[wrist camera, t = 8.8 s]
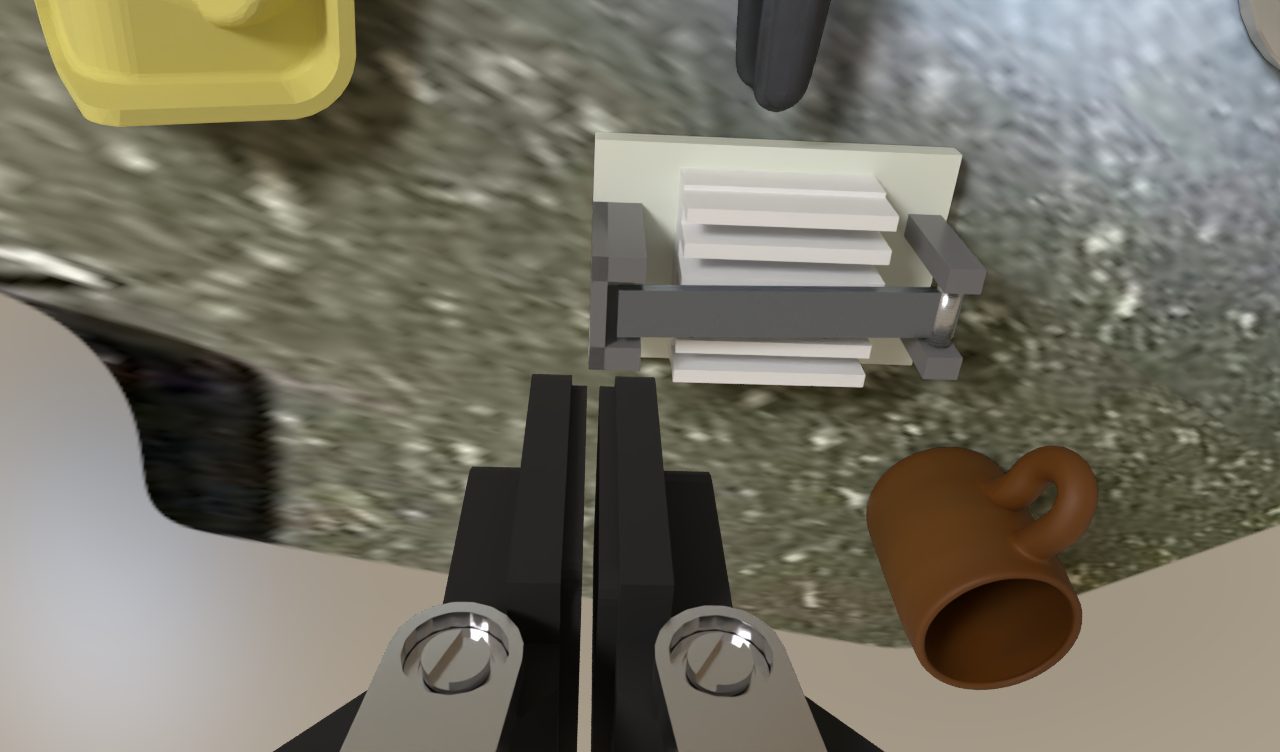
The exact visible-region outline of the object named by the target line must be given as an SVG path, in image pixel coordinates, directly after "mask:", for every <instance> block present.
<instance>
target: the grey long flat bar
mask: <svg viewBox="0 0 1280 752" xmlns="http://www.w3.org/2000/svg"><path fill="white" fill-rule="evenodd" d="M964 295H965V294H948V293H944V292H943V291H942V289H941V288H940V287H939V285H938V286H937V287H861V286H735V285H618V295H617V317H616V336H617V337H713V338H925V339H924V340H925V342H926V343H928V344H929V345H931V346H934V347H941V348H942V347H947V346H949V345H950V342H951V338H953V336H954V333H955V329H956V325H957V321H958V317H959V314H960V310H961V306H962V302H963V299H964Z"/></svg>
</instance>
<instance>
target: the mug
mask: <svg viewBox="0 0 1280 752" xmlns="http://www.w3.org/2000/svg"><path fill="white" fill-rule="evenodd" d="M1053 482H1054V483H1055V484H1056V486H1057V497H1056V500H1055V503H1054V505H1053V507H1052V509H1051V510H1050V511H1049V512H1048V513H1047V514H1045V515H1044V516H1042V517H1041V518H1039V519H1038V520H1036V521H1035V520H1034V518H1033V517H1032V515H1031V514H1030V512H1029V511H1028V509H1027V508H1026V507H1028V506H1029V505H1031V504H1032V503H1033V502H1034V501H1035V500H1036V499H1038V497H1039V496H1040V495H1041V494H1042V493H1043V491H1044V490H1045V489H1046V488H1047V487H1048V486H1049V485H1050V484H1051V483H1053ZM1097 503H1098V486H1097V482H1096V477H1095V475H1094V473H1093V471H1092V470H1091V468H1090V466H1089V465H1088V463H1087V461H1085V460H1084V459H1083V458H1082V457H1081V456H1080V455H1079V454H1077V453H1076V452H1074V451H1072V450H1070V449H1067V448H1065V447H1059V446H1044V447H1040V448H1037V449H1035V450H1033V451H1030V452H1028V453H1026V454H1025V455H1024V456H1023V457H1021V458H1020V459H1019V460H1018V461H1017V462H1016V463H1015V464H1014V465H1013V466H1012V468H1011V469H1010V470H1009V471H1008V472H1007V473H1006V474H1005V473H1004V472H1003V470H1002V469H1001V468H1000V467H999V466H998V465H997V464H996V463H994V462H993V461H992V460H991V459H989V458H988V457H986V456H984V455H982V454H980V453H978V452H975V451H972V450H968V449H964V448H957V447H940V448H933V449H928V450H924V451H921V452H918V453H915V454H913V455H911V456H908V457H906V458H905V459H903V460H901V461H899V462H898V463H896V464H895V465H894V466H892V467H891V468H890V469H889V470H888V471H886V472H885V474H884V475H883V476H882V477H881V478H880V479H879V481H878V482H877V483H876V485H875V487H874V489H873V490H872V492H871V495H870V497H869V500H868V504H867V514H866V517H867V525H868V530H869V533H870V536H871V539H872V542H873V545H874V548H875V551H876V553H877V556H878V559H879V562H880V565H881V568H882V571H883V574H884V577H885V579H886V582H887V585H888V588H889V590H890V593H891V596H892V598H893V601H894V604H895V607H896V609H897V612H898V615H899V618H900V620H901V623H902V626H903V628H904V630H905V633H906V635H907V637H908V639H909V641H910V643H911V645H912V647H913V649H914V651H915V653H916V655H917V657H918V659H919V661H920V663H921V665H922V666H923V667H924V668H925V669H926V670H927V671H928V672H929V673H930V674H931V675H933V676H934V677H935V678H937V679H939V680H940V681H942V682H944V683H946V684H949V685H952V686H955V687H959V688H964V689H973V690H988V689H997V688H1003V687H1008V686H1012V685H1015V684H1019V683H1021V682H1024V681H1027V680H1029V679H1031V678H1034V677H1036V676H1038V675H1039V674H1041V673H1043V672H1045V671H1046V670H1048V669H1049V668H1050V667H1052V666H1054V665H1055V664H1056V663H1057V662H1058V661H1060V660H1061V659H1062V658H1063V657H1064V656H1065V655H1066V653H1068V651H1069V650H1070V649H1071V648H1072V646H1073V645H1074V643H1075V641H1076V639H1077V638H1078V635H1079V633H1080V629H1081V625H1082V609H1081V604H1080V602H1079V599H1078V597H1077V595H1076V593H1075V591H1074V589H1073V587H1072V585H1071V583H1070V581H1069V578H1068V576H1067V574H1066V572H1065V570H1064V568H1063V566H1062V564H1061V563H1060V561H1059V559H1058V558H1057V556H1056V554H1058V553H1060V552H1061V551H1063V550H1065V549H1066V548H1068V547H1070V546H1071V545H1073V544H1075V543H1076V542H1077V541H1078V540H1079V539H1080V538H1081V537H1082V536H1083V534H1084V533H1085V531H1086V530H1087V528H1088V527H1089V525H1090V523H1091V521H1092V519H1093V516H1094V514H1095V511H1096V509H1097Z"/></svg>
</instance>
